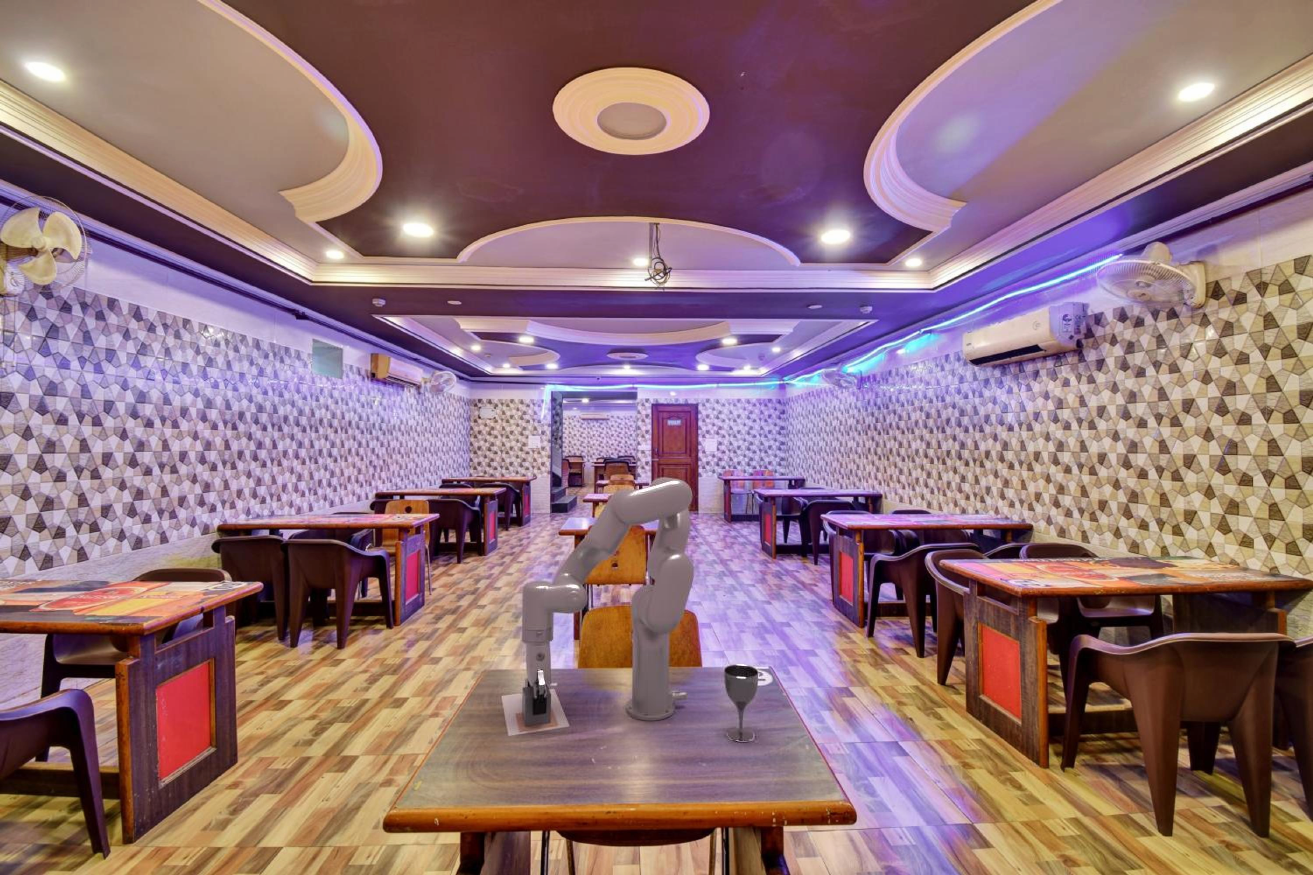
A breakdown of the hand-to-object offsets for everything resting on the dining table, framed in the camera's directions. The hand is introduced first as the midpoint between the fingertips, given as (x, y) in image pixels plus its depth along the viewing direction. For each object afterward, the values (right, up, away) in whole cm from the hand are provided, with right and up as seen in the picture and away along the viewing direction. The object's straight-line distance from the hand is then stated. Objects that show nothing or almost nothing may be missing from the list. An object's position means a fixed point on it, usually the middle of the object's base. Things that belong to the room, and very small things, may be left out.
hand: (536, 704), depth 134 cm
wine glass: (+49, -6, -3) cm, 49 cm away
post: (-4, -4, +10) cm, 12 cm away
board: (-2, -5, +5) cm, 7 cm away
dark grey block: (0, -3, 0) cm, 3 cm away
